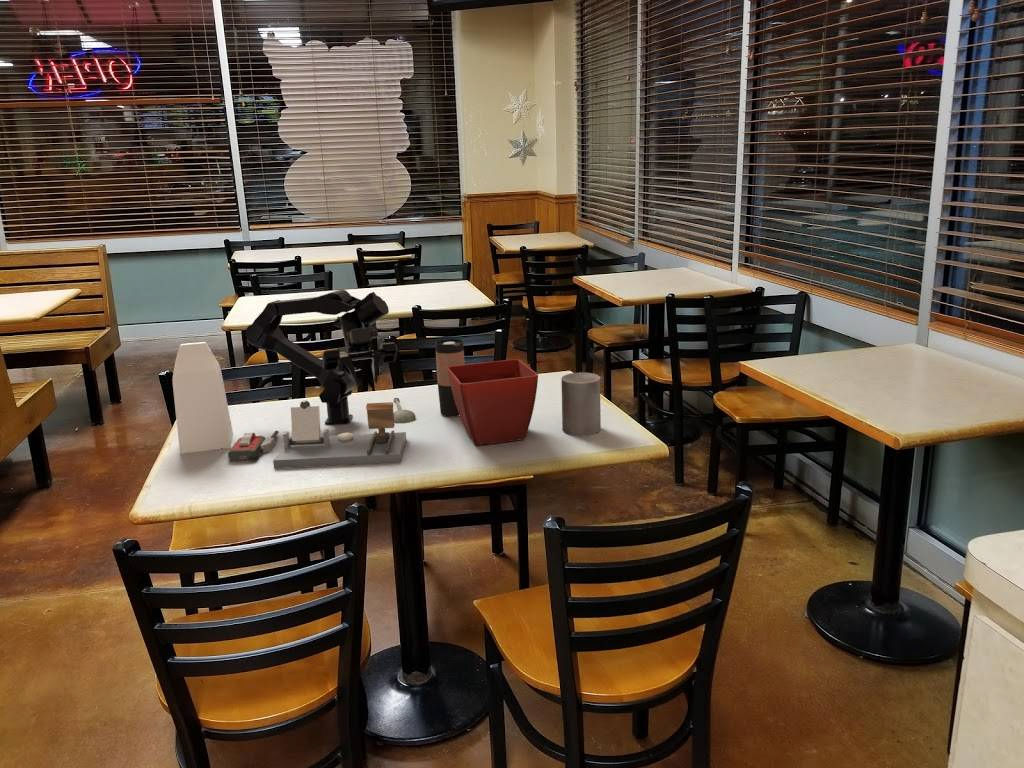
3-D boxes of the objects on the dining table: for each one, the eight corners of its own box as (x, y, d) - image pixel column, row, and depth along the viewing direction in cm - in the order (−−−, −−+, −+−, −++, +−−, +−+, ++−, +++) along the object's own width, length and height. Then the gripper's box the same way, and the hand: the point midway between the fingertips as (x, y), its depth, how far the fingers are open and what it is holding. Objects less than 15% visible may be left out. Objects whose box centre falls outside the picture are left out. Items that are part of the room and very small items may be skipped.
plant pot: (450, 428, 215) (446, 365, 211) (521, 420, 220) (519, 358, 215) (464, 452, 198) (460, 383, 193) (541, 442, 202) (539, 375, 197)
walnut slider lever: (371, 437, 204) (367, 402, 201) (396, 436, 204) (393, 401, 201) (368, 443, 200) (365, 407, 197) (394, 441, 200) (391, 405, 198)
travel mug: (442, 408, 233) (437, 338, 228) (469, 408, 232) (465, 338, 227) (437, 417, 225) (432, 344, 220) (465, 416, 225) (461, 344, 219)
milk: (180, 453, 205) (164, 350, 199) (184, 439, 216) (169, 341, 209) (231, 447, 208) (217, 345, 202) (233, 433, 219) (219, 336, 212)
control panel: (289, 445, 208) (287, 424, 206) (406, 439, 208) (404, 418, 207) (274, 468, 192) (271, 445, 191) (400, 462, 193) (398, 439, 191)
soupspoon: (392, 428, 221) (416, 427, 223) (391, 416, 220) (416, 415, 222) (385, 403, 242) (408, 402, 243) (385, 392, 241) (408, 391, 242)
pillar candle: (560, 425, 215) (558, 368, 210) (597, 422, 215) (596, 366, 211) (565, 437, 205) (563, 378, 201) (604, 434, 206) (603, 376, 202)
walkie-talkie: (263, 463, 197) (281, 436, 216) (261, 445, 196) (280, 420, 215) (226, 465, 197) (247, 438, 216) (223, 447, 196) (245, 421, 215)
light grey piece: (291, 445, 201) (289, 401, 201) (324, 443, 202) (322, 399, 202) (288, 445, 199) (286, 401, 199) (322, 444, 199) (320, 399, 199)
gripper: (319, 318, 206) (331, 371, 199) (393, 311, 213) (407, 362, 206) (317, 344, 215) (329, 395, 208) (388, 335, 222) (401, 385, 215)
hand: (367, 384), depth 209 cm, fingers open, 4 cm apart
